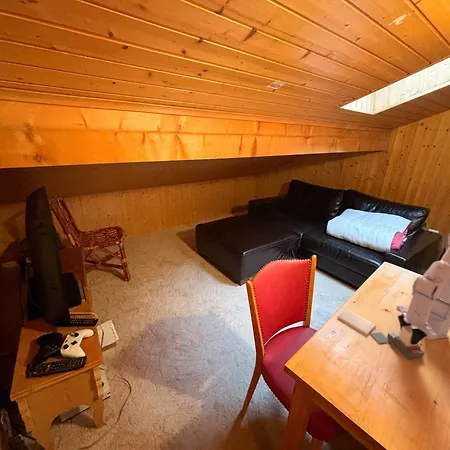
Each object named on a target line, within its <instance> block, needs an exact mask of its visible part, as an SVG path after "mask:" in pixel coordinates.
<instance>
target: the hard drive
mask: <svg viewBox="0 0 450 450" xmlns="http://www.w3.org/2000/svg"><path fill="white" fill-rule="evenodd" d="M336 319H338V320H340V321H341V322H343V323H344V324H346V325H348V326H350V327H351V328H352V329H355V330H356V331H358V332H359V333H361V334H363V335H364V336H366V337H367V336H368V335H369V334H370V333H372V331H373V330H374V329H375V328H376V327H377V325H376V324H374V323H373V322H371V321H369V320H368V319H366V318H365V317H362V316H361V315H358V314H357V313H355V312H353V311H351V310H350V309H348V308H346V309H345V310H343V311H342V312H341V313H340V314H339V315H338V316H337V317H336Z"/></svg>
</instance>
